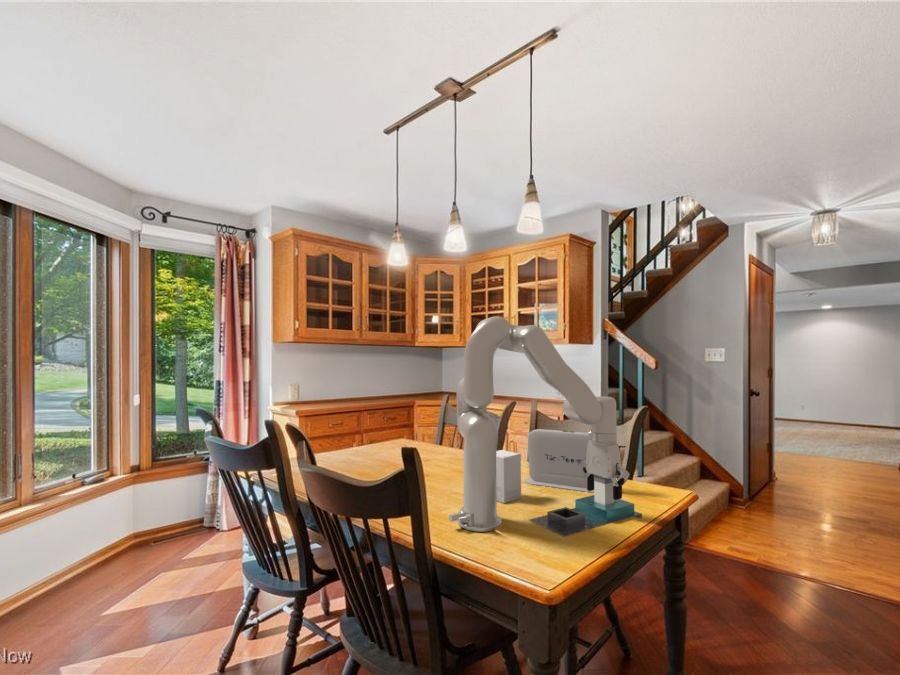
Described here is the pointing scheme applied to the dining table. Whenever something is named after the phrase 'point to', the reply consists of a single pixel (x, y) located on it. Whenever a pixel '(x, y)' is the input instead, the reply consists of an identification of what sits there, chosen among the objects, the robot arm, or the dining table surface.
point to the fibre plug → (603, 490)
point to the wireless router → (557, 459)
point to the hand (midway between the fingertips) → (604, 494)
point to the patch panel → (585, 516)
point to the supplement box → (508, 476)
